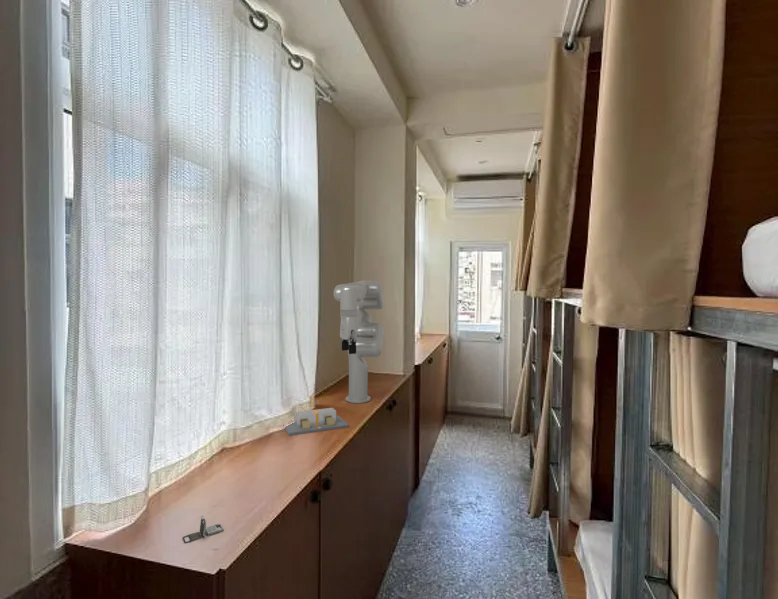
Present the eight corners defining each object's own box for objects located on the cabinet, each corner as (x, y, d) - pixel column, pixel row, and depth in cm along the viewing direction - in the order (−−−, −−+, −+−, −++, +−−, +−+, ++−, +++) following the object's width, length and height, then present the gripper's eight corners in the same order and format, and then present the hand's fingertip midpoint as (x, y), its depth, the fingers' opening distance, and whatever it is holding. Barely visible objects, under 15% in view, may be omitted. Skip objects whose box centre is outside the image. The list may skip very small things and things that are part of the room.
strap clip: (221, 526, 100) (220, 508, 100) (224, 532, 97) (224, 514, 97) (181, 539, 95) (181, 520, 94) (184, 545, 92) (184, 526, 92)
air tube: (294, 424, 169) (294, 412, 169) (332, 419, 176) (332, 407, 176) (297, 428, 165) (297, 415, 164) (336, 423, 171) (336, 410, 171)
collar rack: (282, 425, 171) (282, 415, 171) (338, 417, 181) (338, 408, 181) (289, 435, 159) (289, 425, 159) (348, 427, 169) (348, 417, 169)
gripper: (334, 312, 192) (334, 349, 192) (347, 315, 176) (347, 355, 177) (350, 312, 195) (350, 348, 195) (363, 315, 179) (363, 354, 180)
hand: (348, 351), depth 186 cm, fingers open, 9 cm apart
